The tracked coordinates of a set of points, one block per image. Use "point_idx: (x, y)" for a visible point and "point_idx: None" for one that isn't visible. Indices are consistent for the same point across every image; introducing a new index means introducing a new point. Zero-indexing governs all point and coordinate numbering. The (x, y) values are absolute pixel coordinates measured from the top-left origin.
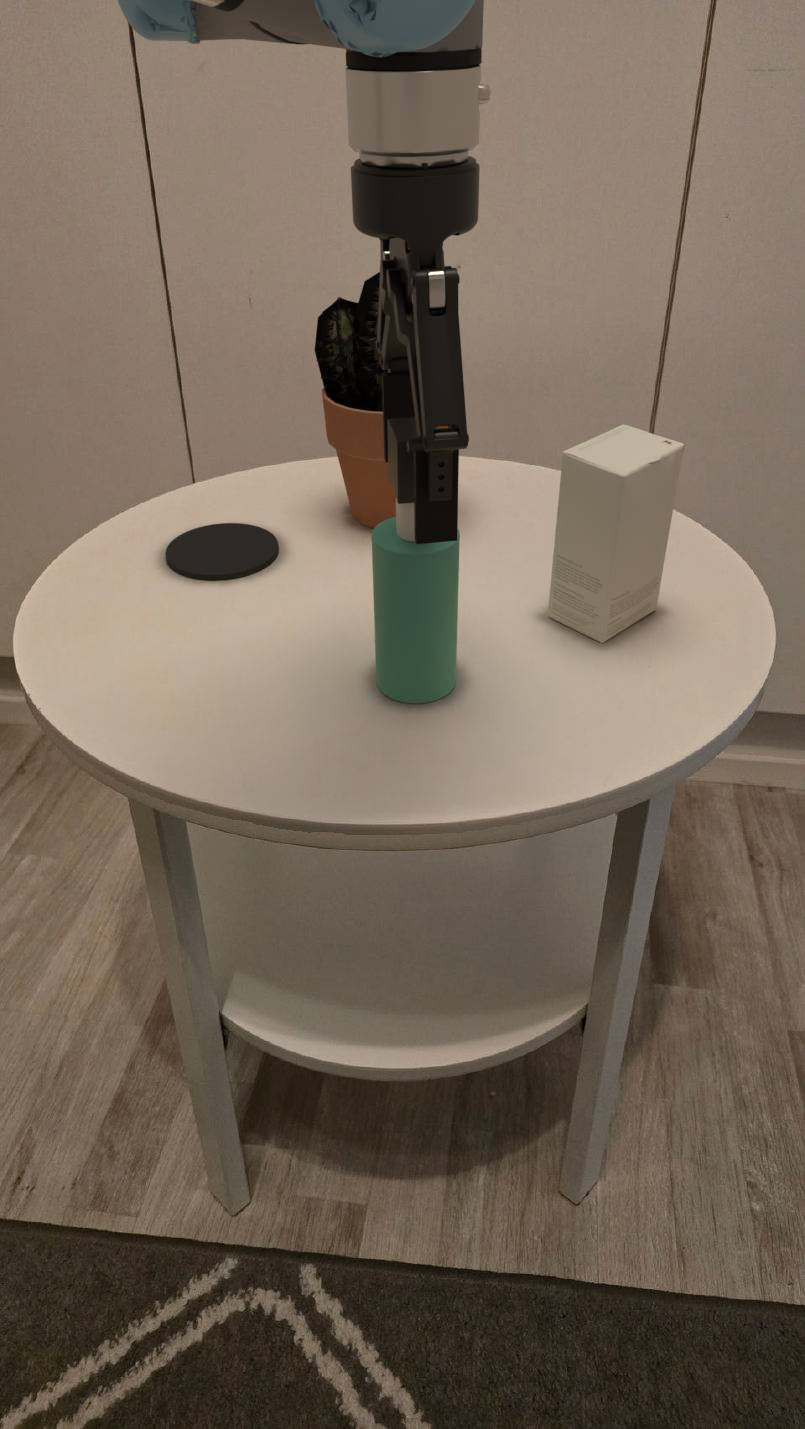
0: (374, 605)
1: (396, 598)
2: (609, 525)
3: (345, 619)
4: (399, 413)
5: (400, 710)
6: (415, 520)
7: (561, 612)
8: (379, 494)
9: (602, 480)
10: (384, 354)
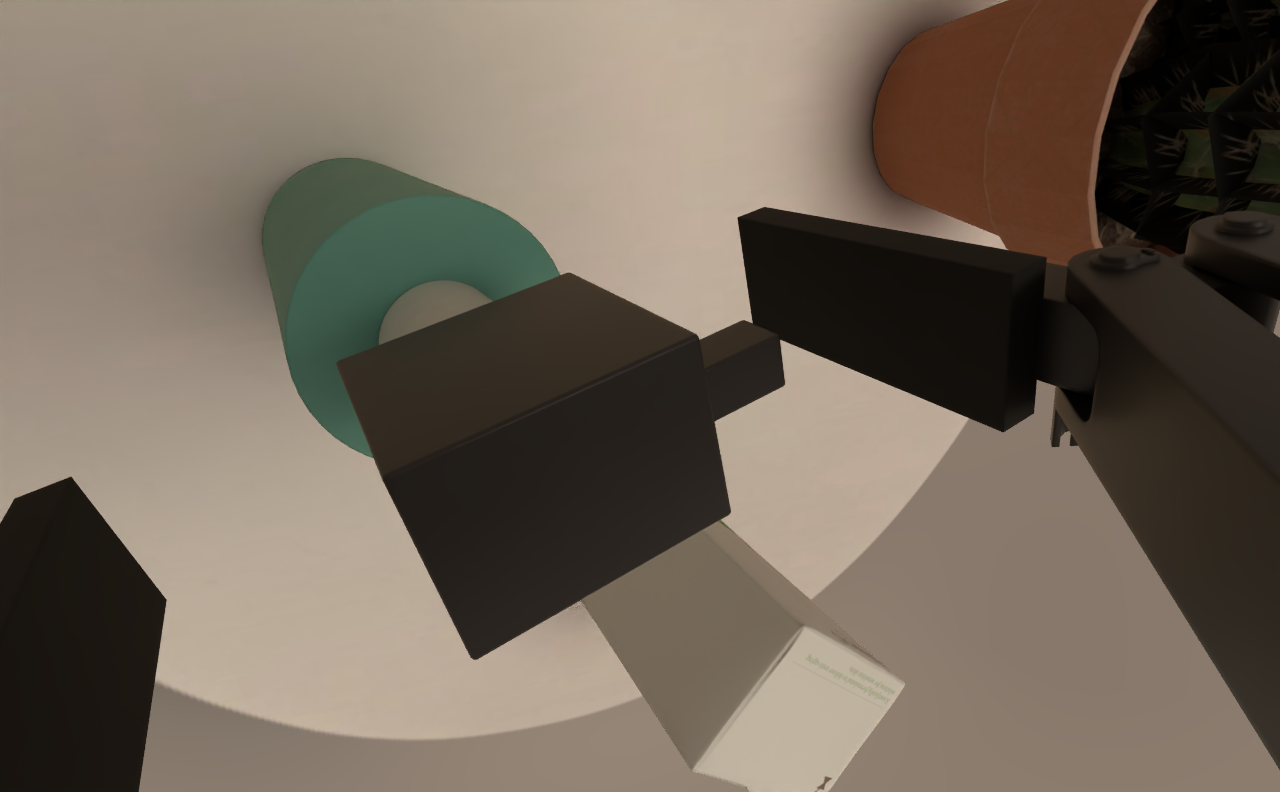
0: (345, 180)
1: (278, 269)
2: (644, 665)
3: (568, 54)
4: (868, 303)
5: (230, 229)
6: (12, 540)
7: None
8: (933, 97)
9: (709, 706)
10: (1129, 308)
